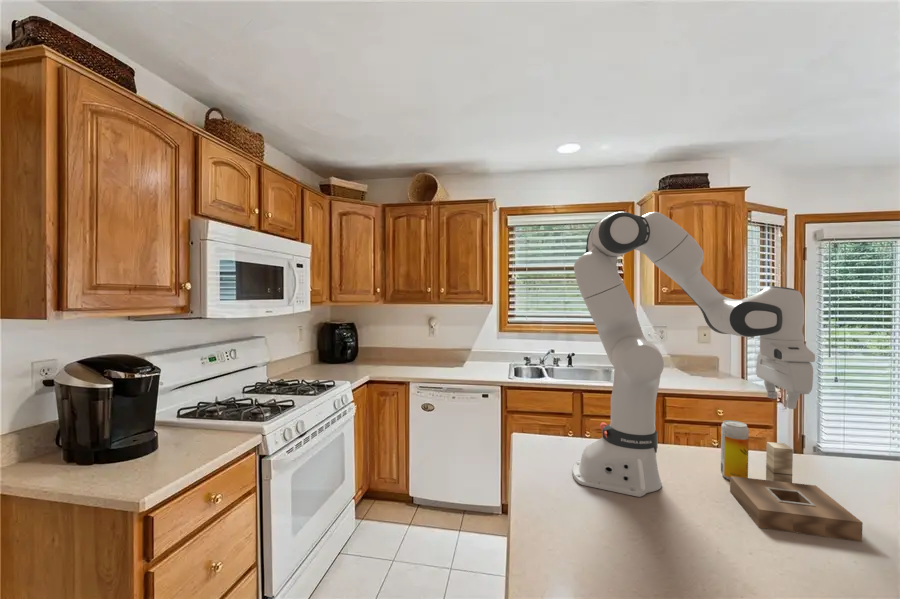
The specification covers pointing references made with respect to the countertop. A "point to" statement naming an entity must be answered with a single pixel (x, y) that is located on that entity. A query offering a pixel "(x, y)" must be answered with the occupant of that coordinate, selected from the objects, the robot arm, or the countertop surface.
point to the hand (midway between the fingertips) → (780, 402)
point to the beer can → (734, 449)
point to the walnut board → (794, 508)
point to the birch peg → (779, 462)
